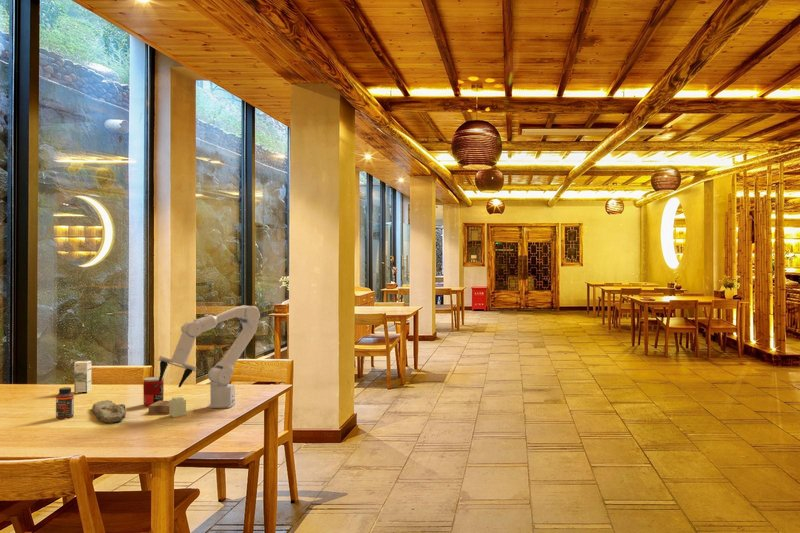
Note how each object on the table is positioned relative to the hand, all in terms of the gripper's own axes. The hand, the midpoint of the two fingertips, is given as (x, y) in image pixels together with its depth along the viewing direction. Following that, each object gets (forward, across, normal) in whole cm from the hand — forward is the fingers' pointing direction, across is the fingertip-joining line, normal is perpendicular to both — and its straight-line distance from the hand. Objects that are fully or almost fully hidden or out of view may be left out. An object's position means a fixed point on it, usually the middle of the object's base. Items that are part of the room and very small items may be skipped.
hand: (169, 384), depth 231 cm
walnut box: (+11, +1, +8) cm, 13 cm away
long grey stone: (+18, -18, +7) cm, 27 cm away
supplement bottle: (+23, -32, +6) cm, 40 cm away
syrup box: (+16, -42, +58) cm, 74 cm away
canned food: (+10, -6, +22) cm, 25 cm away
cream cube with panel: (+10, +7, -1) cm, 13 cm away
